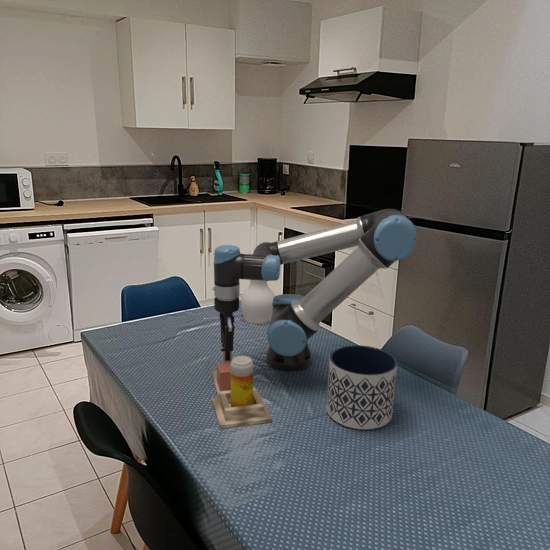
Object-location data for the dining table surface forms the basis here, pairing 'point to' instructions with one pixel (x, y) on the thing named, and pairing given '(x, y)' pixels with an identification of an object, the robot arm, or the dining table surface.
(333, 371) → the planter
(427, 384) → the dining table surface
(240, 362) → the beer can
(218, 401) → the dock
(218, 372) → the salmon pink block
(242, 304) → the vase
